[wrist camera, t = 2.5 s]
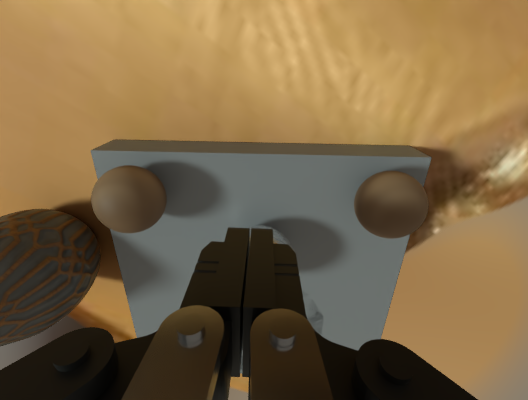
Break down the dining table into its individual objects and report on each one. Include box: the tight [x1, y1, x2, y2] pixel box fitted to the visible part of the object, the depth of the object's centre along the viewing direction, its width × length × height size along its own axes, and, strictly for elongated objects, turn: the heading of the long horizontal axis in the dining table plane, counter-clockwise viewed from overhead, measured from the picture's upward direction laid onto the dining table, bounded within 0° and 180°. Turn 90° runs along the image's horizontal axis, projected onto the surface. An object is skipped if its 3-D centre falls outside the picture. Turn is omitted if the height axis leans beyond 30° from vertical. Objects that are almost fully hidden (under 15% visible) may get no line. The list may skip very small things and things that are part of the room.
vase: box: [0, 209, 101, 346], centre depth 16 cm, size 7×7×9 cm
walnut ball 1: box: [91, 165, 167, 233], centre depth 14 cm, size 3×3×3 cm
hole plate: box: [91, 140, 432, 373], centre depth 20 cm, size 18×18×2 cm
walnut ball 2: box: [354, 171, 428, 239], centre depth 14 cm, size 3×3×3 cm
